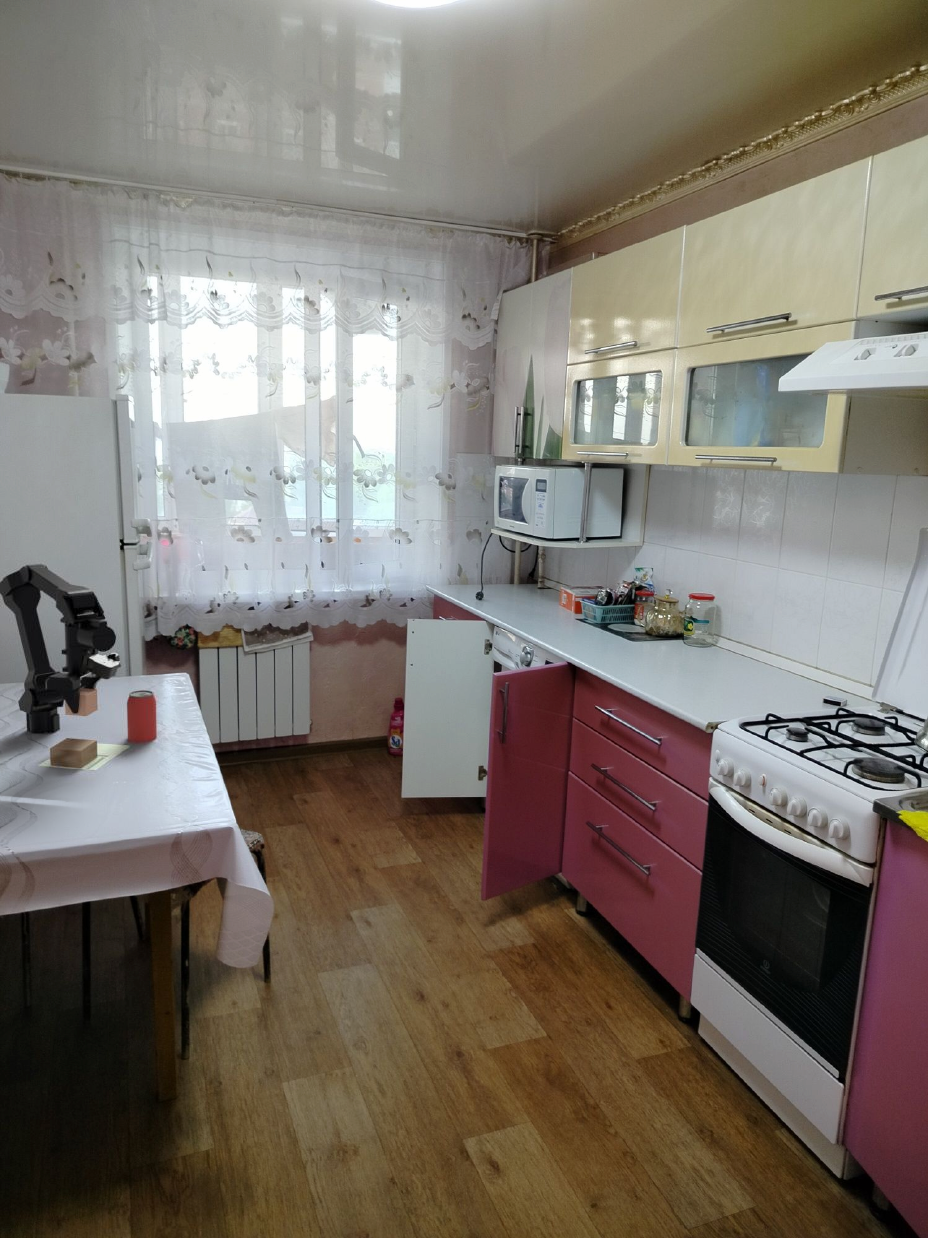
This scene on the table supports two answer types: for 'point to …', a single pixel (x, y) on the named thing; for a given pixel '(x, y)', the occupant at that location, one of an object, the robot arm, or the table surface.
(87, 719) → the table surface
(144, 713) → the beer can
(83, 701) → the cube
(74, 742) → the base block
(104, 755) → the cream mat
